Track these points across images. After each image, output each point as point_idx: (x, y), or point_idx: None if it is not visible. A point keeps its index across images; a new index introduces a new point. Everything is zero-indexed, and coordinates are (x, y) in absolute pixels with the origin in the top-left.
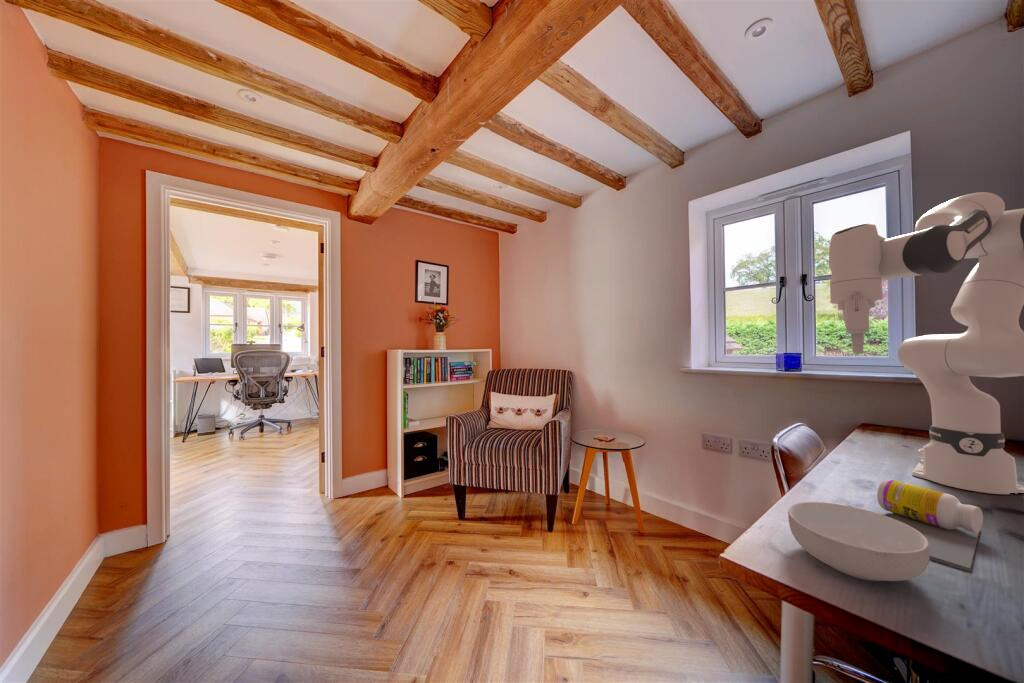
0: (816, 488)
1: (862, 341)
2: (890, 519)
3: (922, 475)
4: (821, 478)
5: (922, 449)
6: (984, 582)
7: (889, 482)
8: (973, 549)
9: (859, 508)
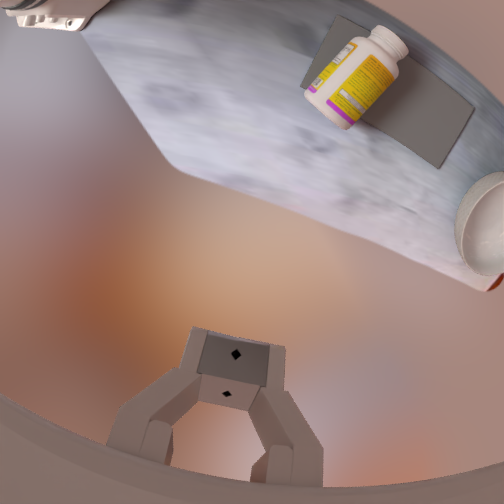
0: (248, 175)
1: (303, 423)
2: (492, 188)
3: (86, 19)
4: (181, 157)
5: (38, 19)
6: (486, 108)
7: (343, 115)
8: (427, 70)
9: (472, 208)
